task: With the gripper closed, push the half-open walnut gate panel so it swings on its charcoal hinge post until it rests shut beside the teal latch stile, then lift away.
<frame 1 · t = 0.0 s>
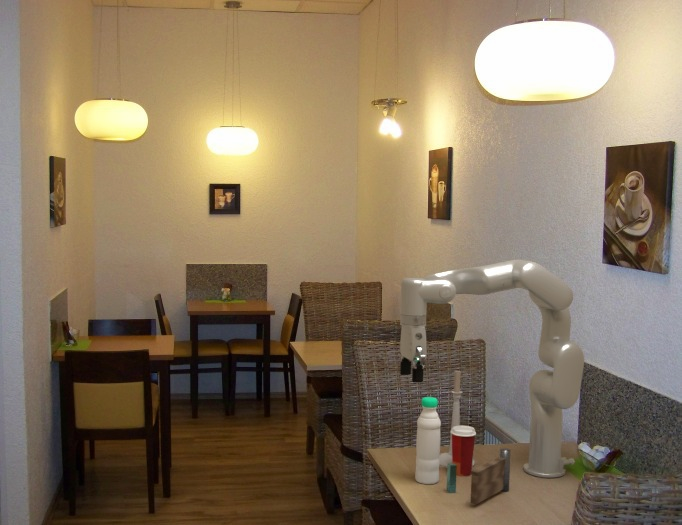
hand: (411, 378, 238), 31 cm above the table, fingers open, 9 cm apart
gate: (487, 480, 228), point 6 cm above the table, hinge at 35.0°
paper cup: (461, 473, 250), on the table
water bottle: (427, 481, 243), on the table
gate posts: (503, 490, 237), on the table
candlestick: (454, 462, 260), on the table
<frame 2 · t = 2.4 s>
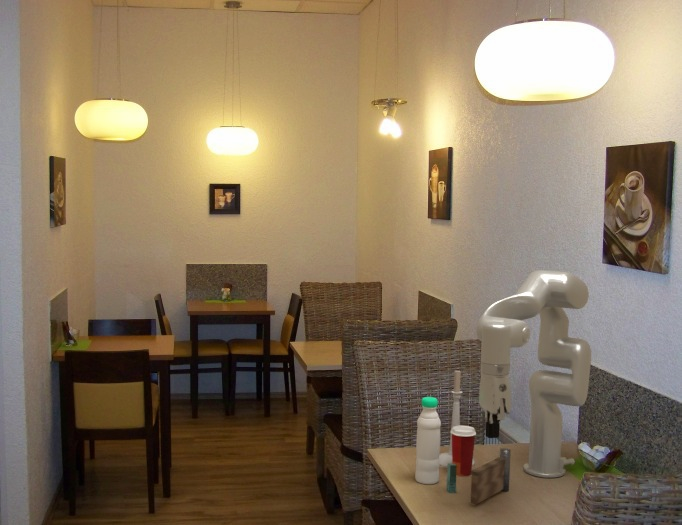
hand: (492, 436, 217), 21 cm above the table, fingers closed
nothing on the table moved.
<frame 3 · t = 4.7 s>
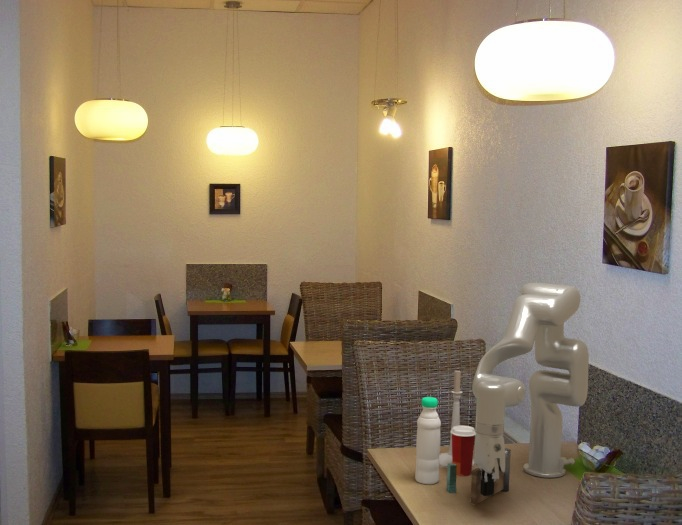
hand: (487, 494, 220), 5 cm above the table, fingers closed
gate: (487, 480, 228), point 6 cm above the table, hinge at 34.9°, touching gripper
everything else where it was.
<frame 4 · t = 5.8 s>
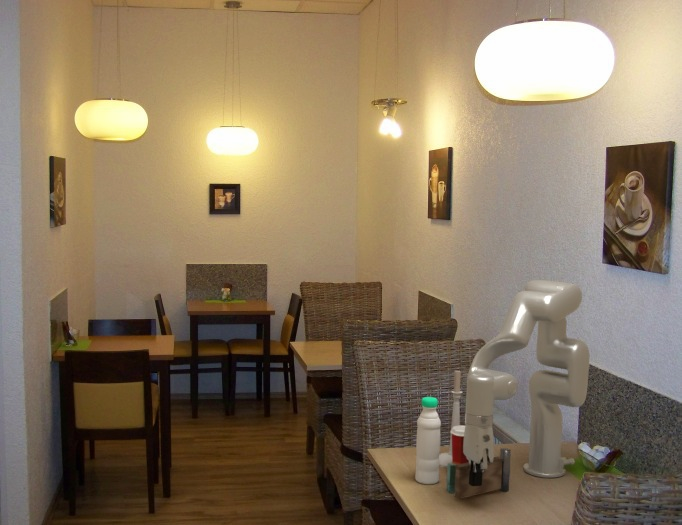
hand: (475, 485, 225), 5 cm above the table, fingers closed
gate: (478, 477, 231), point 6 cm above the table, hinge at 16.1°, touching gripper
everything else where it was.
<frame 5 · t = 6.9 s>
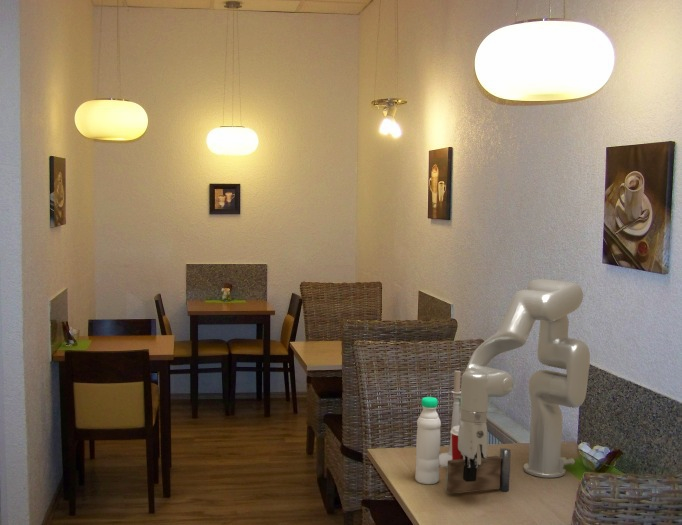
hand: (469, 480, 228), 5 cm above the table, fingers closed
gate: (474, 474, 233), point 6 cm above the table, hinge at 2.7°, touching gripper
everything else where it was.
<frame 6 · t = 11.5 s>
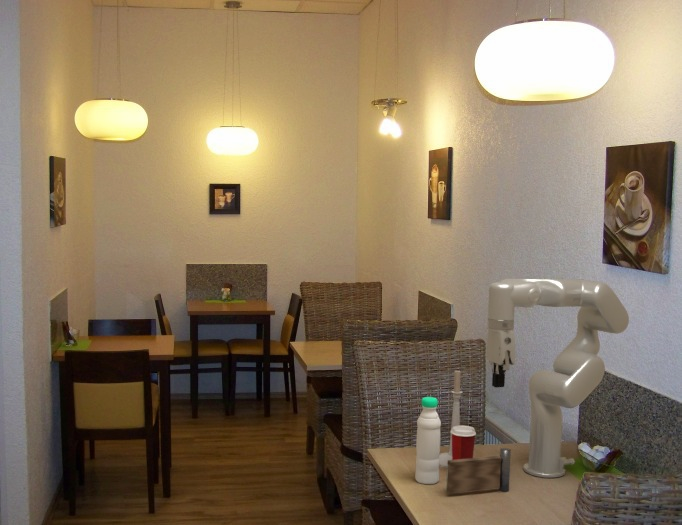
hand: (498, 386, 240), 29 cm above the table, fingers closed
gate: (474, 474, 233), point 6 cm above the table, hinge at 2.4°
everything else where it was.
at the end: gate at +2° (first picture: +35°) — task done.
